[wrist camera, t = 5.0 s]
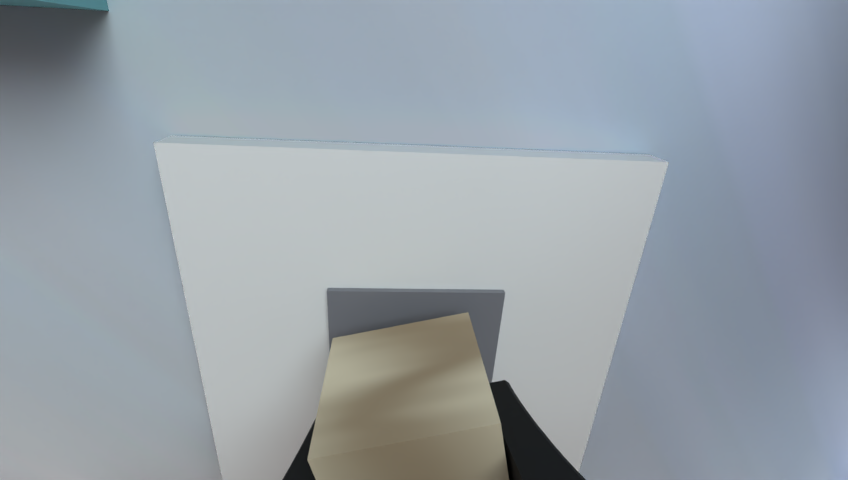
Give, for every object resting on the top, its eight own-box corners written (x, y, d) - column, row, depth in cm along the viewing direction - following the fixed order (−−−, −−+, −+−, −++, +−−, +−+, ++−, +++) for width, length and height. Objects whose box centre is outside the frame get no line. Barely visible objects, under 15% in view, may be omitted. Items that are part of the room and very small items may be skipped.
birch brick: (468, 312, 12) (500, 423, 8) (484, 412, 14) (517, 541, 10) (332, 338, 12) (307, 459, 9) (365, 435, 14) (354, 572, 10)
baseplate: (649, 154, 13) (673, 163, 12) (563, 470, 19) (574, 496, 17) (171, 135, 12) (149, 143, 11) (235, 479, 17) (225, 508, 16)
